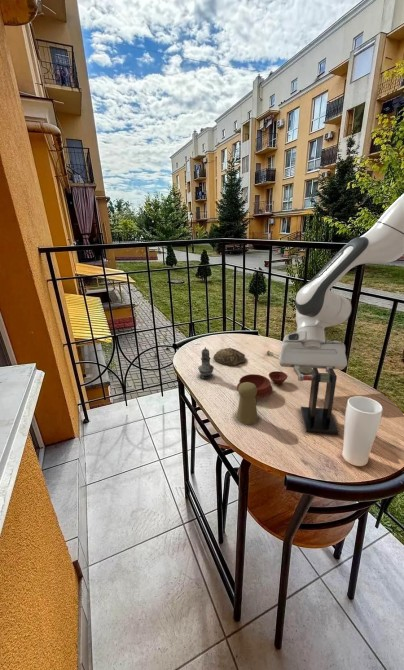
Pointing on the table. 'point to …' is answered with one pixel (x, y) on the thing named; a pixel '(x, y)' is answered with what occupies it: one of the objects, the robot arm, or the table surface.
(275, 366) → the table surface
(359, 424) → the drinking glass
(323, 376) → the lever
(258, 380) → the pottery
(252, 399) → the olive pawn figure
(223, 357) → the brown rounded lump
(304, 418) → the bracket
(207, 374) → the grey tall knobbed piece
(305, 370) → the soupspoon
